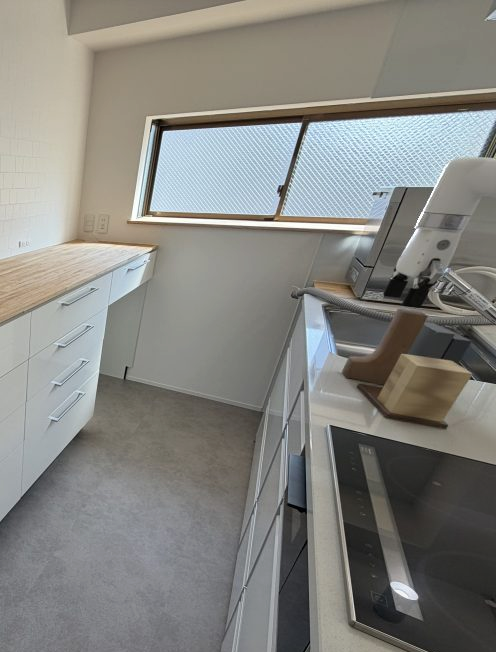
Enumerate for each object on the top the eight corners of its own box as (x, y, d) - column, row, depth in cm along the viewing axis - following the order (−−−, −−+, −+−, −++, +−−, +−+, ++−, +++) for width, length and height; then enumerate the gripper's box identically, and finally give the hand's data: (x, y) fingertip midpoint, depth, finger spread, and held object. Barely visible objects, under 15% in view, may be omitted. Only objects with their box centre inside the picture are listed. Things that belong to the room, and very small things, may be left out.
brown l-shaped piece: (344, 377, 105) (378, 308, 96) (341, 371, 108) (373, 304, 100) (390, 386, 101) (429, 315, 93) (385, 379, 104) (422, 311, 96)
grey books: (418, 381, 104) (451, 325, 97) (437, 396, 97) (474, 336, 90) (388, 376, 106) (418, 321, 99) (404, 391, 99) (438, 332, 92)
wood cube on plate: (408, 395, 97) (435, 348, 91) (446, 429, 83) (481, 376, 78) (356, 386, 100) (380, 340, 94) (385, 417, 87) (414, 366, 81)
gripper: (490, 228, 80) (441, 313, 87) (441, 221, 94) (402, 295, 102) (441, 225, 82) (397, 308, 90) (400, 218, 96) (366, 290, 104)
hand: (400, 301), depth 96 cm, fingers open, 9 cm apart
